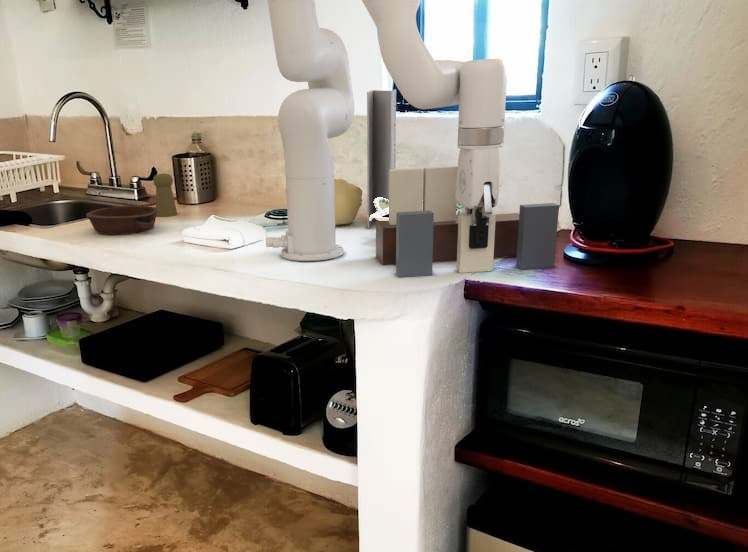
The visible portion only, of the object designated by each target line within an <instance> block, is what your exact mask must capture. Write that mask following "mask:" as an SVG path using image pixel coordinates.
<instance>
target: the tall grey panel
mask: <svg viewBox="0 0 748 552" xmlns="http://www.w3.org/2000/svg"><path fill="white" fill-rule="evenodd" d="M366 147H367V148H366V152H367V153H366V166H367V167H366V172H367V174H366V176H367V177H366V179H367V181H366V182H367V183H366V184H367V187H366V189H367V190H366V192H367V193H366V195H367V196H366V197H367V199H366V200H367V202H366V203H367V205H366V207H367V208H366V209H367V210H366V211H367V230H370V227H371V225H372V223H373V221H372V222H371V221H369V217H370V215H371V214H373V213H375V212H376V211H377V210H376V208H375V206H374V203H373V201H374V199H375V198H377V197H383V198H386V199H388V200H389V170H390V169H397V168H396V162H397V161H396V157H397V155H396V153H397V150H396V147H397V89H396V88H395V89H392V90H379V89H378V90H377V89H375V90H374V89H373V90H369V91H367V92H366Z"/></svg>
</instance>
